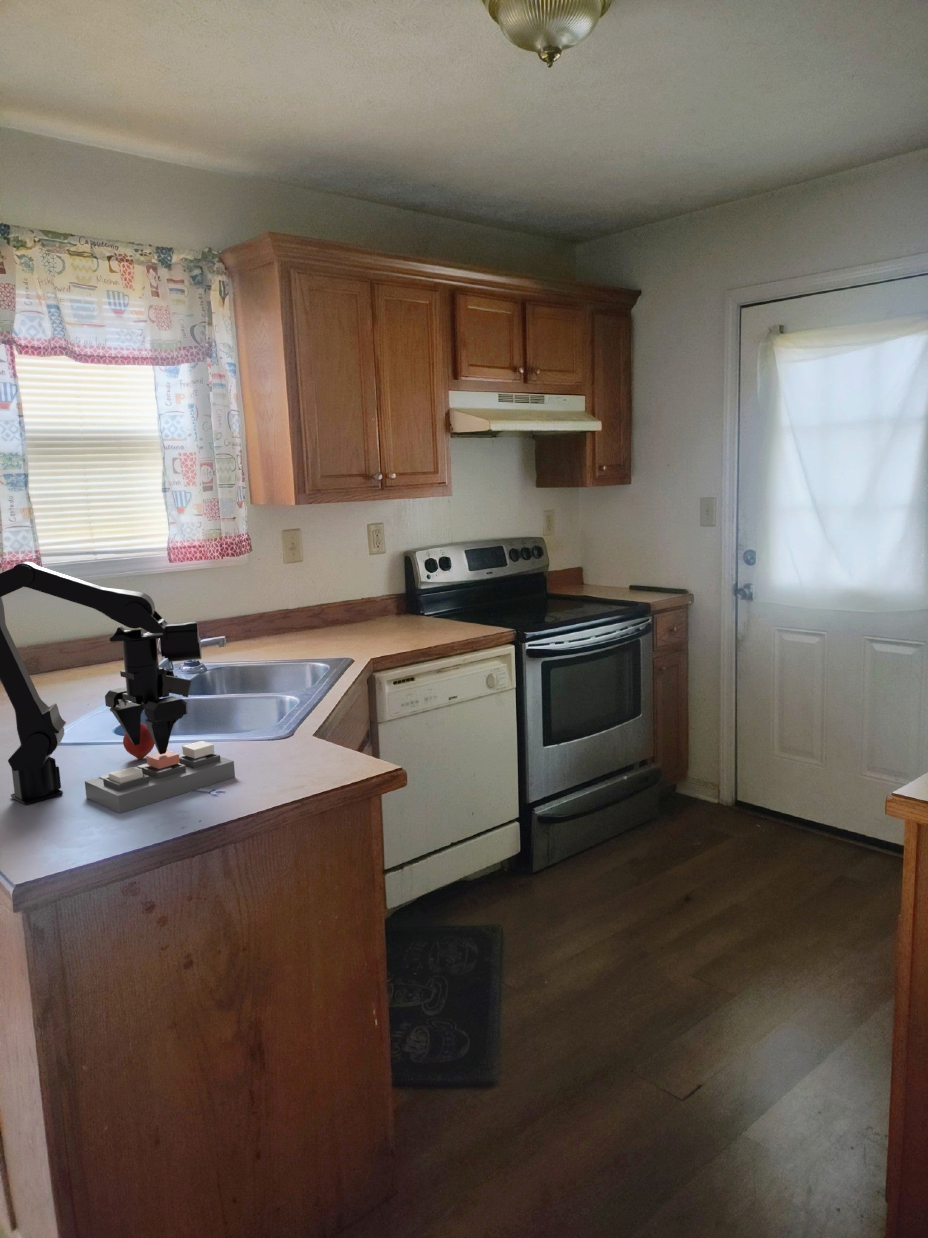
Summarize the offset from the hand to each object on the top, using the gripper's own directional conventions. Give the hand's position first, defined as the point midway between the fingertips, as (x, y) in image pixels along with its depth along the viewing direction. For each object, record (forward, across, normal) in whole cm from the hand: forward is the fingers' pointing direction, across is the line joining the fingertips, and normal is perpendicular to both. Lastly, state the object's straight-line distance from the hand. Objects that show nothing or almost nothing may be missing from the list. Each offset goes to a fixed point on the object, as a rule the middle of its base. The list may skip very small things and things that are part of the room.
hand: (149, 749), depth 154 cm
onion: (+7, +16, -6) cm, 18 cm away
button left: (+3, -4, +7) cm, 9 cm away
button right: (+2, -4, -7) cm, 8 cm away
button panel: (+6, -3, 0) cm, 7 cm away
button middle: (+2, -4, 0) cm, 5 cm away
